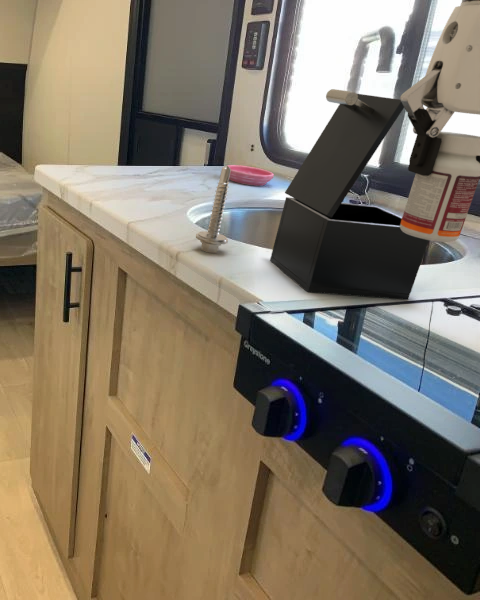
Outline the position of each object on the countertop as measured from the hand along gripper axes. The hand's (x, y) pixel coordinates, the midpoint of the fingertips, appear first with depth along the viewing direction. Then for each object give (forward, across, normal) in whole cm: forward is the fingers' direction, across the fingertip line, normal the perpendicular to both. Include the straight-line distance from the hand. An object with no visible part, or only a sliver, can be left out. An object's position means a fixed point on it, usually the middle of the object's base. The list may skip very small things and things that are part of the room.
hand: (447, 174), depth 66 cm
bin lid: (0, -5, +14) cm, 15 cm away
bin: (+18, -1, +14) cm, 23 cm away
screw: (+18, -17, +23) cm, 34 cm away
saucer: (+19, +14, +88) cm, 91 cm away
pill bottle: (+7, 0, 0) cm, 7 cm away
